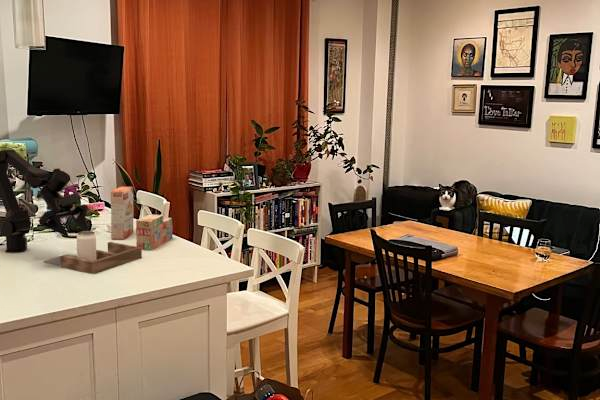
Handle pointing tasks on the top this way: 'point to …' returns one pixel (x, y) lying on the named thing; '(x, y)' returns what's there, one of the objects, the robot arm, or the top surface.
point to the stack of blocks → (153, 231)
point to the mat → (57, 260)
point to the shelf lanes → (103, 258)
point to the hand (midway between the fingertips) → (77, 233)
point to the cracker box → (121, 212)
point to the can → (86, 245)
